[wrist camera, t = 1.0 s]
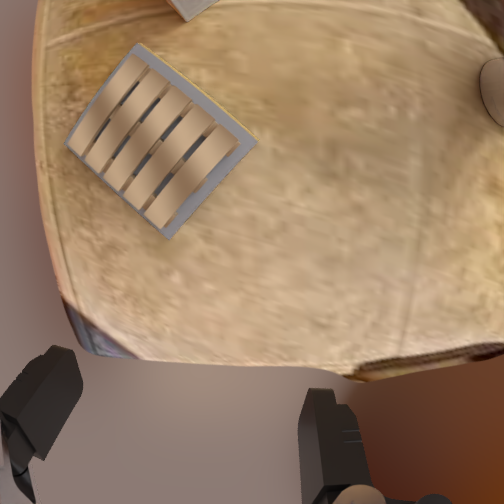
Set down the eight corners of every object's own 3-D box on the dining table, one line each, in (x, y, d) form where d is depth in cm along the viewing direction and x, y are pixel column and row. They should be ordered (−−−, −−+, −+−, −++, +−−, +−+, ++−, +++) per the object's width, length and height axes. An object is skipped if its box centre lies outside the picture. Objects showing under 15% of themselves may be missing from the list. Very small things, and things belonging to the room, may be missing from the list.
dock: (147, 47, 27) (137, 40, 24) (259, 139, 30) (259, 140, 27) (76, 141, 30) (62, 142, 28) (176, 231, 34) (169, 240, 31)
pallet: (136, 55, 25) (130, 51, 23) (242, 142, 28) (241, 142, 26) (73, 141, 28) (65, 142, 26) (167, 226, 31) (162, 231, 29)
